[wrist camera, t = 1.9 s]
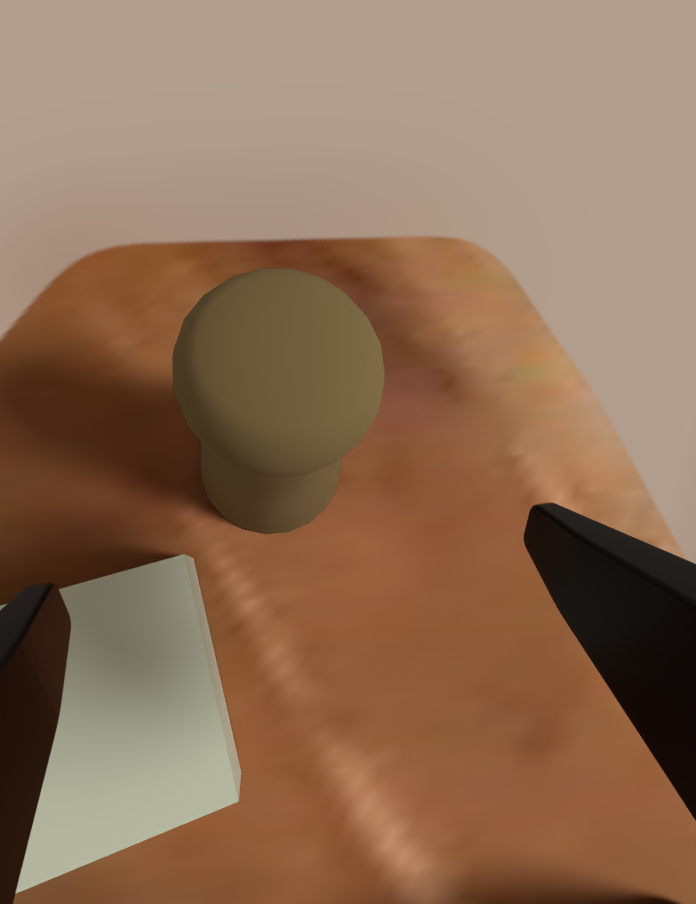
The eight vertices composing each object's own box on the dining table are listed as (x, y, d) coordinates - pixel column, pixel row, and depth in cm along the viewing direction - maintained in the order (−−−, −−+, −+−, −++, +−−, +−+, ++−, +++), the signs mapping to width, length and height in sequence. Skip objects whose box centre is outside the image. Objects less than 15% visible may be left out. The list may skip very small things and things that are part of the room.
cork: (168, 470, 20) (70, 343, 10) (265, 374, 22) (271, 180, 11) (279, 564, 20) (302, 538, 9) (367, 457, 22) (467, 338, 11)
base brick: (241, 772, 18) (238, 801, 15) (-4, 870, 16) (-51, 920, 13) (193, 558, 19) (184, 553, 17) (-33, 622, 17) (-79, 627, 15)
